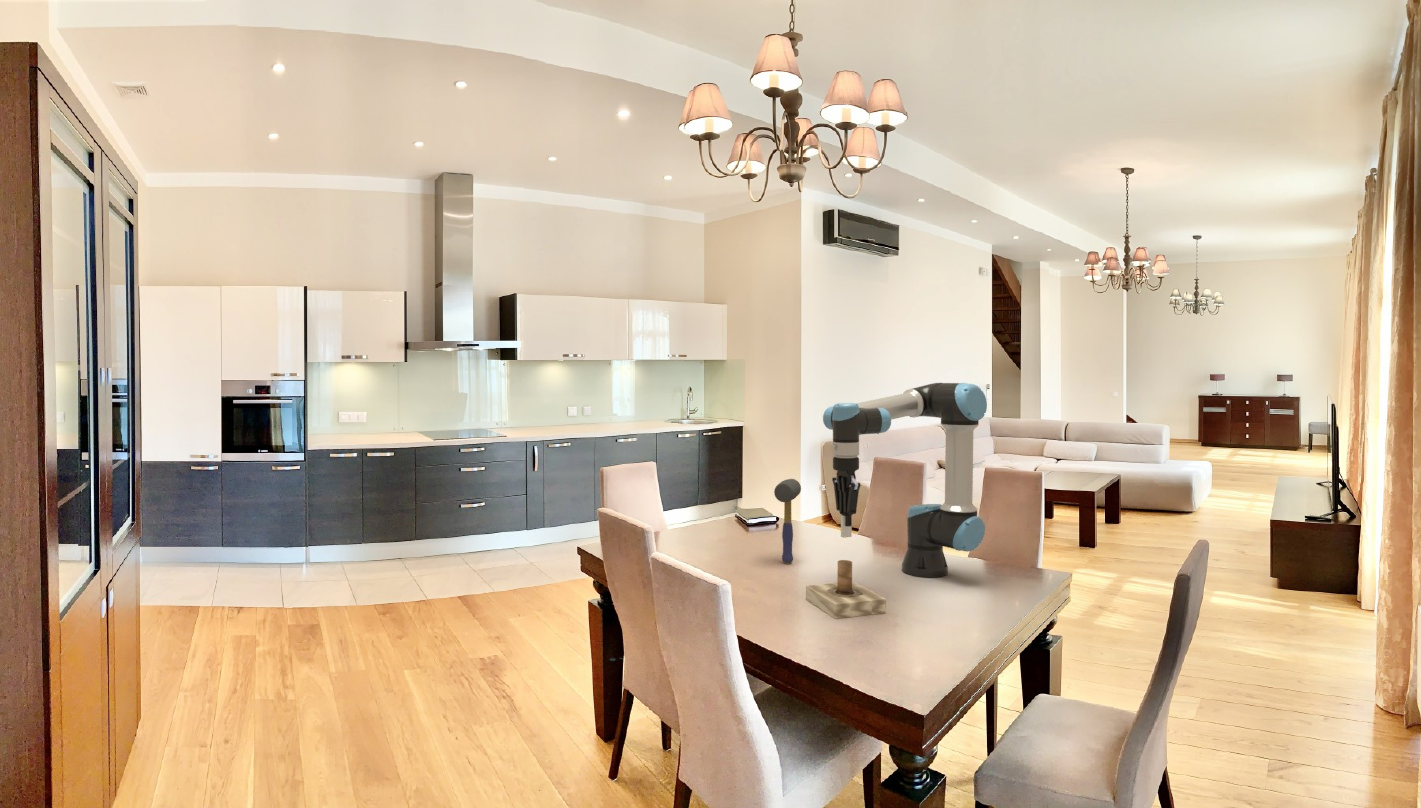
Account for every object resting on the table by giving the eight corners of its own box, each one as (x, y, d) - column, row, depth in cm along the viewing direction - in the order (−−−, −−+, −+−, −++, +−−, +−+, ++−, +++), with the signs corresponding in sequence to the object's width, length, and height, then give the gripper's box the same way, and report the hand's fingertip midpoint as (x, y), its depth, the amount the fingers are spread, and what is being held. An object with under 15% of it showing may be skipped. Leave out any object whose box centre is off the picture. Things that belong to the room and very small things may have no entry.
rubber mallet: (793, 568, 264) (793, 482, 263) (772, 566, 267) (772, 481, 266) (802, 560, 276) (802, 478, 275) (782, 558, 279) (782, 476, 277)
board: (853, 594, 234) (853, 581, 234) (885, 612, 216) (885, 598, 216) (805, 598, 229) (805, 585, 229) (835, 618, 211) (835, 604, 211)
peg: (847, 602, 226) (848, 559, 225) (854, 607, 221) (855, 563, 221) (834, 604, 224) (834, 560, 224) (841, 608, 220) (841, 564, 219)
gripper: (824, 454, 226) (824, 533, 227) (845, 459, 213) (845, 542, 215) (846, 453, 228) (846, 531, 229) (868, 458, 216) (869, 540, 217)
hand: (846, 536), depth 222 cm, fingers closed
